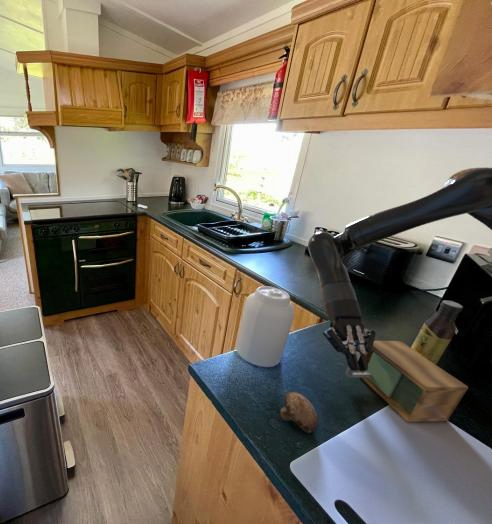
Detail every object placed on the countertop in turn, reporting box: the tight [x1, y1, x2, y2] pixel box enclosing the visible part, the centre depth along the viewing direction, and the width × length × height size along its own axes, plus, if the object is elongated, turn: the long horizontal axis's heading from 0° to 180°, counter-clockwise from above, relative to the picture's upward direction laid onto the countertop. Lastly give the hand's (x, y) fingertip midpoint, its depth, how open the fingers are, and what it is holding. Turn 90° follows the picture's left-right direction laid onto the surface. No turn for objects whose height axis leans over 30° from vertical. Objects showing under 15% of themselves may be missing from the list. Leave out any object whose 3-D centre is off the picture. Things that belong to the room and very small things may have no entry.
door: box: [345, 351, 403, 397], centre depth 71 cm, size 7×8×8 cm
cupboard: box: [354, 340, 469, 423], centre depth 70 cm, size 10×16×10 cm, turn 4°
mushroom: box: [279, 391, 319, 434], centre depth 62 cm, size 8×8×6 cm
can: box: [234, 285, 295, 368], centre depth 80 cm, size 12×12×20 cm
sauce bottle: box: [410, 300, 464, 365], centre depth 81 cm, size 6×6×20 cm
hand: (359, 370), depth 70 cm, fingers closed
